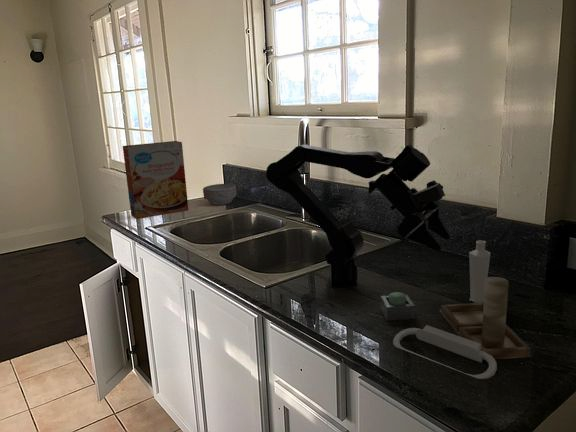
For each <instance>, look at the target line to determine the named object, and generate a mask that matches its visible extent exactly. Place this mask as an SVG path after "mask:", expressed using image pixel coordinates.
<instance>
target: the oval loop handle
mask: <svg viewBox="0 0 576 432" xmlns="http://www.w3.org/2000/svg"><path fill="white" fill-rule="evenodd" d="M409 335H415V336H416V339H417V340H420V341H422V342H425V343H427V344H430V345H434V346H436V347H438V348H441V349H444V350H446V351H450V352H451V353H454V354H457V355H458V356H459V355H460V356H462V357H465V358H467V359H470V360H473V361H475V362H478V363H483V360H482V358H483V359H484V361H486V362H487V364H488V368H487V370H485V371H483V372H482V373H479V374H470V373H465V372H463V371H461V370H458V369H457V368H453V367H451V366H449V365H445V364H444V363H441V362H439V361H436V360H434V359H431V358H428V357H426V356H424V355H421V354H418V353H416V352H414V351H412V350H408V349H406V348H405V347H403V346H402V345H401V340H402V339H404V337H407V336H409ZM392 339H393V340H392V344H393V346H394V347H395V348H398V349H400V350H403V351H405V352H408V353H410V354H413V355H416V356H418V357H421V358H423V359H427V360H428V361H431V362H433V363H436V364H439V365H441V366H445V367H446V368H450V369H451V370H454V371H457V372H459V373H463V375H467V376H470V377H473V378H475V379H479V380H483V379H491V378H492V377H493V376H495V374H496V372H497V369H498V365H497V364H498V363H497V361H496V359H494V358H493V357H492V356H491V355H489V354H488V353H486V352H484V351H481V344H480V343H477V342H474V341H471V340H468V339H465V338H462V337H460V336H458V334H453V333H450V332H448V331H446V330H442V329H439V328H437V327H434V326H430V325H428V324H426V325H425V326H424V327H423V328H422V329H421V328H418V327H417V328H416V327H410V328H409V327H408V328H406V329H402V330H400V331H399V332H398V333H397V334H395V336H394V337H393V338H392ZM478 351H479V352H478Z"/></svg>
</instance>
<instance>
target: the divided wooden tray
mask: <svg viewBox="0 0 576 432" xmlns="http://www.w3.org/2000/svg"><path fill="white" fill-rule="evenodd" d="M483 308H484V303H475V302H473V303H456V304H455V303H453V304H441V307H440V309H438V311H439V313H441V314H442V316H443V318H445V320H446V321H447V322H448V324H449V326H451V328H452V329H453V330H454V332H455V333H456V335H457V336H460V337H462V338H465V339H468V340H471V341H474V342H477V343H480V344H481V351H484V352H486V353H488V354H489V355H491V356H492V357H493V358H494V359H495V360H501V359H502V360H503V359H504V360H505V359H516V358H517V359H519V358H532V357H533V356H532V355H531V350H532V348H531V347H530V346H529V345H528V344H527V343H526V342H525V341H524V340H523V339H522V338H521V337H519V335H518V334H517V333H516V332H514V330H513V329H512V328H511V327H510V326H508V324H506V326H505V340H504V348H494V349H488V348H486V347H484V346H483V345H482V343H481V342H482V325H483ZM478 352H479V351H478ZM483 360H484V359H483V358H482V361H483ZM484 361H485V360H484Z"/></svg>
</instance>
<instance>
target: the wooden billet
mask: <svg viewBox="0 0 576 432" xmlns="http://www.w3.org/2000/svg"><path fill="white" fill-rule="evenodd" d="M509 284H510V283H509V280H508V279H506V278H504V277H499V276H487V278H486V279H485V291H484V308H483V325H482V342H481V343H482V345H483V346H484V347H486V348H488V349H494V348H504V340H505V326H506V323H507V311H508V310H507V309H508V296H509V295H508V294H509Z"/></svg>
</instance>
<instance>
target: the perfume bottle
mask: <svg viewBox="0 0 576 432" xmlns="http://www.w3.org/2000/svg"><path fill="white" fill-rule="evenodd" d="M475 242H476V243H475V245H476V246H475V249H474V250H472V251H469V255H468V257H469V287H470V288H469V290H470V297H469V301H470V302H471V301H472V302H473V303H484V291H485V279H486V278H488V277H489V275H488V274H489V268H490V261H491V252H490V251H488V250H486V242H487V240H481V239H480V240H476V241H475Z"/></svg>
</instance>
